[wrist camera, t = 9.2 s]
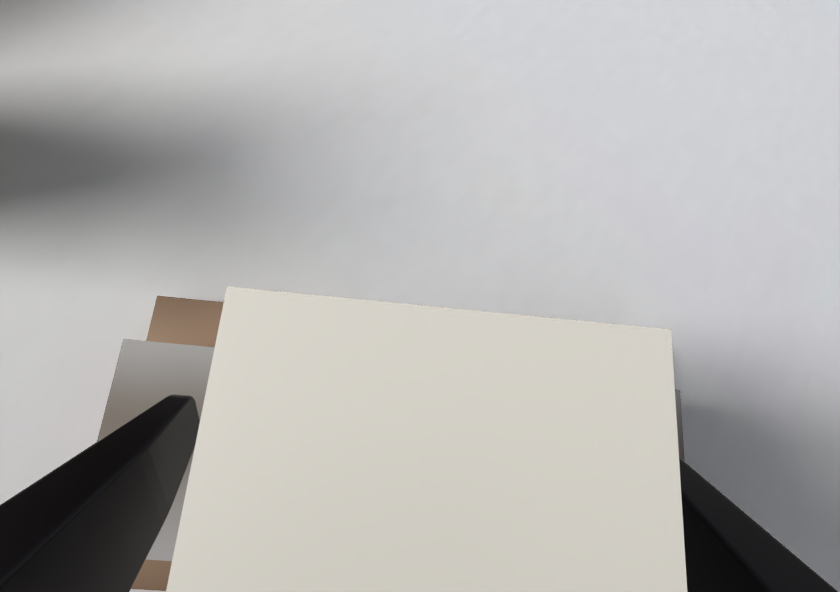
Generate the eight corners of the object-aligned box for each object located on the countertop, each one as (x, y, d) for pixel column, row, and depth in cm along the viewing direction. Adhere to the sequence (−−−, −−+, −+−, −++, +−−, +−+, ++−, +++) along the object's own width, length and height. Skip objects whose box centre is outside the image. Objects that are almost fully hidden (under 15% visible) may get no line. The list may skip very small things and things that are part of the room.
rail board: (639, 601, 16) (730, 676, 12) (114, 568, 15) (6, 636, 11) (630, 348, 19) (704, 334, 14) (176, 303, 18) (107, 274, 13)
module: (461, 545, 15) (717, 1067, 3) (321, 536, 15) (72, 1064, 3) (470, 371, 16) (669, 312, 5) (343, 359, 16) (229, 268, 5)
